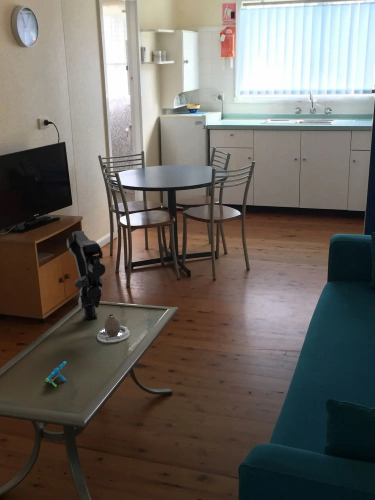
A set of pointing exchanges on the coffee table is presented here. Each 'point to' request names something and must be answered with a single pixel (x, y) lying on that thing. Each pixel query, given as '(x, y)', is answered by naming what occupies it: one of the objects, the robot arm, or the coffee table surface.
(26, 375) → the coffee table surface
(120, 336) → the rosette plate
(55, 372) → the blue green rod structure
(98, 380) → the coffee table surface
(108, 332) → the vase
